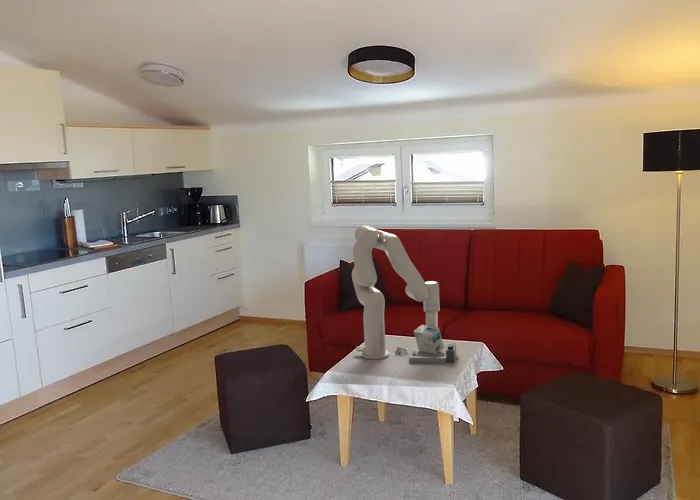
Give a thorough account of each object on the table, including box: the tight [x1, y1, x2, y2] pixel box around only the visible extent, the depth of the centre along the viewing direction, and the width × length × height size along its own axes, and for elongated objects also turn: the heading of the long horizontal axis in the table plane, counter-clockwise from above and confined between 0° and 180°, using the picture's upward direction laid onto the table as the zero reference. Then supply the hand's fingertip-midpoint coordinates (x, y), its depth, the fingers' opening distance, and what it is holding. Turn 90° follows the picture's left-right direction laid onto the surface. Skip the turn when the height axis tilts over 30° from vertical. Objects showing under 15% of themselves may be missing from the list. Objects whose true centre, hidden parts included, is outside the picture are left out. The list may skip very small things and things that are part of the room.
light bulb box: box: [413, 324, 445, 355], centre depth 289 cm, size 11×7×11 cm, turn 44°
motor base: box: [408, 342, 457, 365], centre depth 280 cm, size 20×16×7 cm
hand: (433, 345), depth 295 cm, fingers closed
